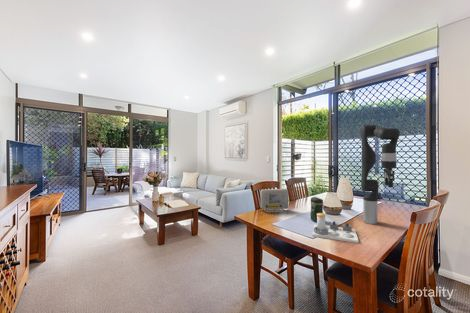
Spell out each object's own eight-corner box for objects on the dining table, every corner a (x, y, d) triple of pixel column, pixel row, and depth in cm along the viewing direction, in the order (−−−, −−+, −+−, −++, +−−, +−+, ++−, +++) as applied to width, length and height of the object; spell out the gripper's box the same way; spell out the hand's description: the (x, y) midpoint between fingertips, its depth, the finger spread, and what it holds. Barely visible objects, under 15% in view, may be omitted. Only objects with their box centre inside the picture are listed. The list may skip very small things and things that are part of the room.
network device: (286, 208, 197) (286, 188, 197) (289, 211, 188) (289, 190, 188) (260, 209, 195) (260, 189, 195) (262, 212, 187) (261, 190, 186)
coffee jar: (325, 222, 158) (325, 198, 158) (316, 223, 157) (315, 199, 156) (317, 218, 168) (317, 196, 167) (309, 219, 166) (308, 196, 166)
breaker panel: (314, 225, 151) (314, 217, 151) (354, 231, 140) (354, 221, 140) (312, 236, 133) (312, 226, 133) (358, 243, 122) (358, 232, 122)
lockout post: (317, 230, 139) (316, 212, 139) (325, 231, 137) (325, 213, 137) (316, 232, 134) (316, 214, 134) (325, 234, 132) (325, 215, 132)
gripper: (379, 159, 135) (379, 184, 135) (384, 160, 122) (384, 187, 122) (392, 159, 132) (392, 184, 132) (399, 160, 119) (399, 188, 119)
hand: (388, 186), depth 127 cm, fingers open, 8 cm apart
